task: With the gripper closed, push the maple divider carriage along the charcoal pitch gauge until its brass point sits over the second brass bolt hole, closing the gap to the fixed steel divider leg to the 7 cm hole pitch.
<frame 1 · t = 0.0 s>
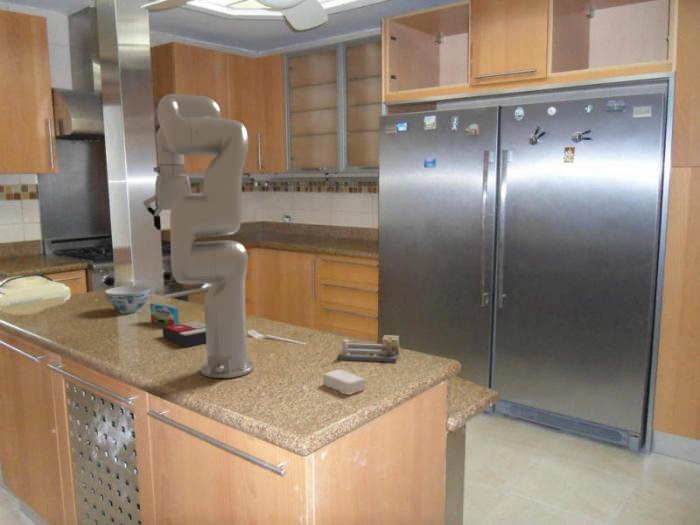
hand: (174, 228, 176), 31 cm above the countertop, tool pointing down, fingers open, 9 cm apart
blue thin box: (164, 324, 187), on the countertop
fork: (277, 341, 169), on the countertop
chinaware: (129, 311, 205), on the countertop
calculator: (191, 340, 170), on the countertop
soap: (343, 389, 130), on the countertop
divider leg: (390, 345, 151), point 3 cm above the countertop, slide at 0.0 cm
pitch gauge: (369, 355, 152), on the countertop
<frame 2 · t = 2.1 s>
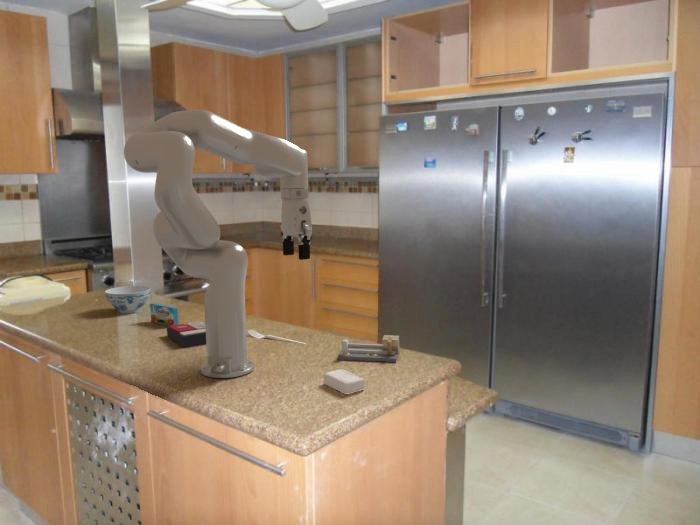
hand: (296, 257, 162), 24 cm above the countertop, tool pointing down, fingers open, 9 cm apart
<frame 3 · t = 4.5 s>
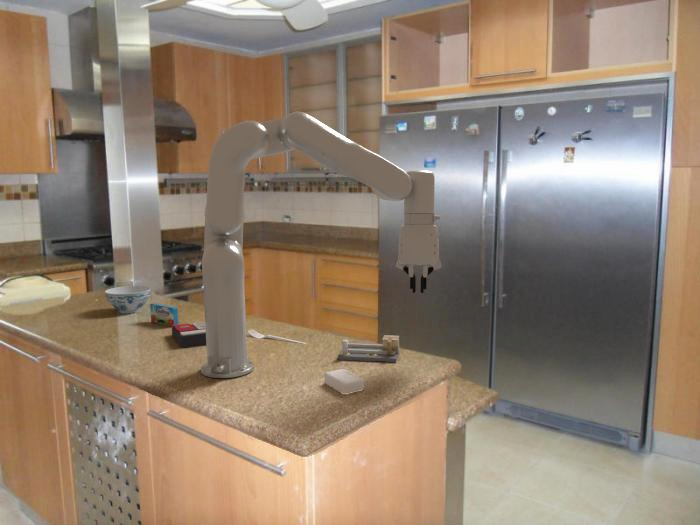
hand: (418, 291, 149), 17 cm above the countertop, tool pointing down, fingers closed
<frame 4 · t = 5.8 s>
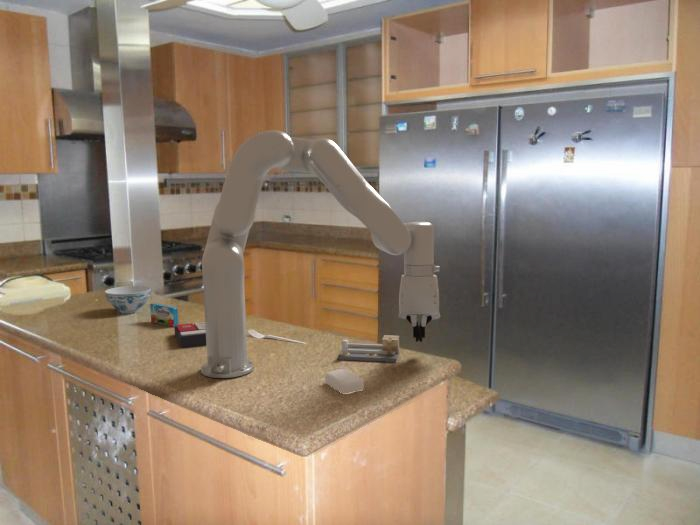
hand: (419, 340, 151), 4 cm above the countertop, tool pointing down, fingers closed
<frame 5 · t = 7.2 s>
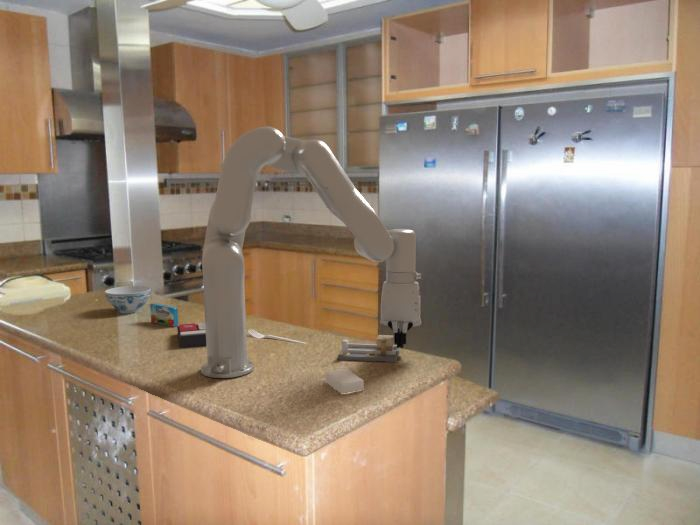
hand: (400, 346, 152), 2 cm above the countertop, tool pointing down, fingers closed
divider leg: (384, 345, 152), point 3 cm above the countertop, slide at 1.5 cm, touching gripper
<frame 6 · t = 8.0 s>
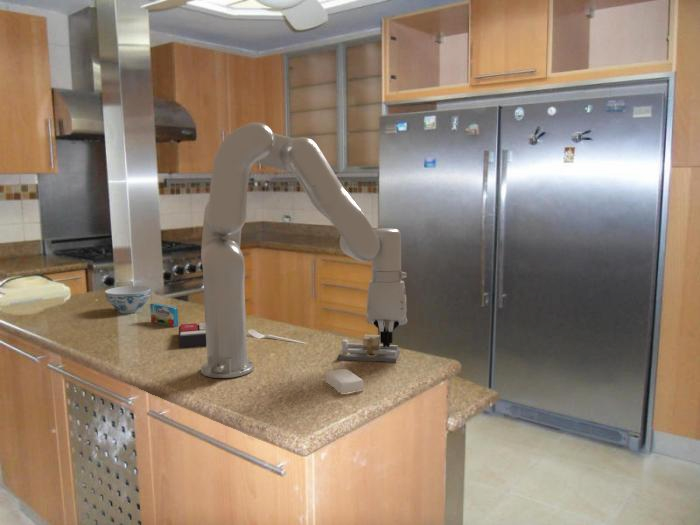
hand: (386, 345, 153), 3 cm above the countertop, tool pointing down, fingers closed
divider leg: (370, 344, 152), point 3 cm above the countertop, slide at 5.1 cm, touching gripper
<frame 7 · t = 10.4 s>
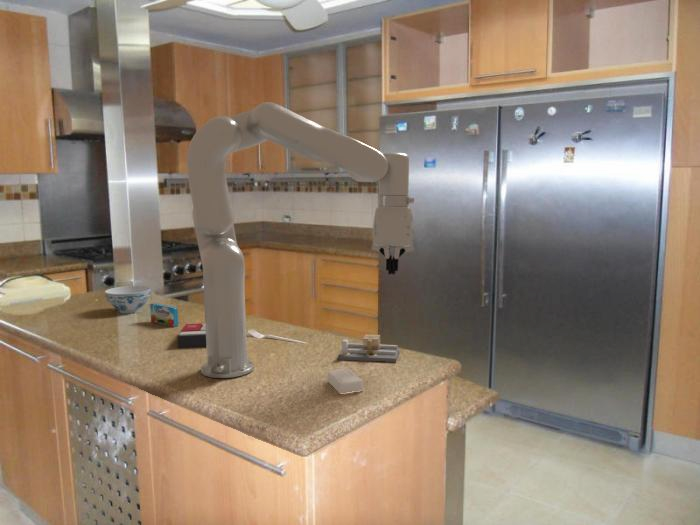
hand: (392, 273, 151), 22 cm above the countertop, tool pointing down, fingers closed
divider leg: (371, 344, 152), point 3 cm above the countertop, slide at 5.0 cm
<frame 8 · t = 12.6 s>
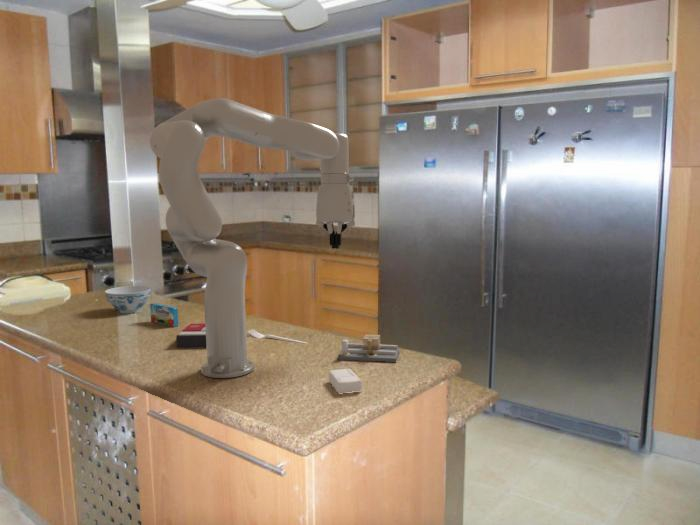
hand: (335, 247, 160), 27 cm above the countertop, tool pointing down, fingers closed
at the end: divider leg slide at 5.0 cm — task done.
